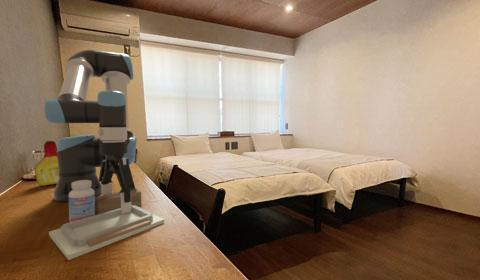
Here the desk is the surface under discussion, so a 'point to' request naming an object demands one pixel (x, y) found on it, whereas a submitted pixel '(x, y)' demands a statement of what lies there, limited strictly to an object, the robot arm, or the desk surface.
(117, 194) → the brown block
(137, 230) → the tray
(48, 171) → the bottle
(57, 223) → the desk surface
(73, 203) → the pill bottle
